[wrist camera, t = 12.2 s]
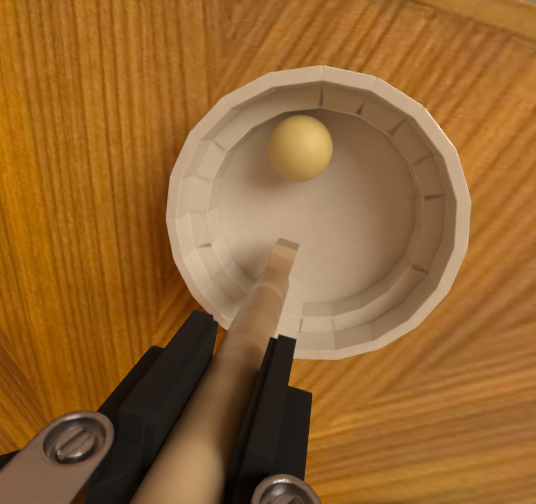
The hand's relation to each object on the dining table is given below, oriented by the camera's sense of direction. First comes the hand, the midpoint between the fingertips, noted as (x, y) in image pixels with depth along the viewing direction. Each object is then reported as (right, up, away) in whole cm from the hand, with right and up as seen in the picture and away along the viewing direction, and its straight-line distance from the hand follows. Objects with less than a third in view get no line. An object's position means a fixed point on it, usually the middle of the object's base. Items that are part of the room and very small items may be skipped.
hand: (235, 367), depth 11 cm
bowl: (+4, +6, +11) cm, 13 cm away
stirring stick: (+2, +3, +10) cm, 11 cm away
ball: (+2, +8, +8) cm, 12 cm away
